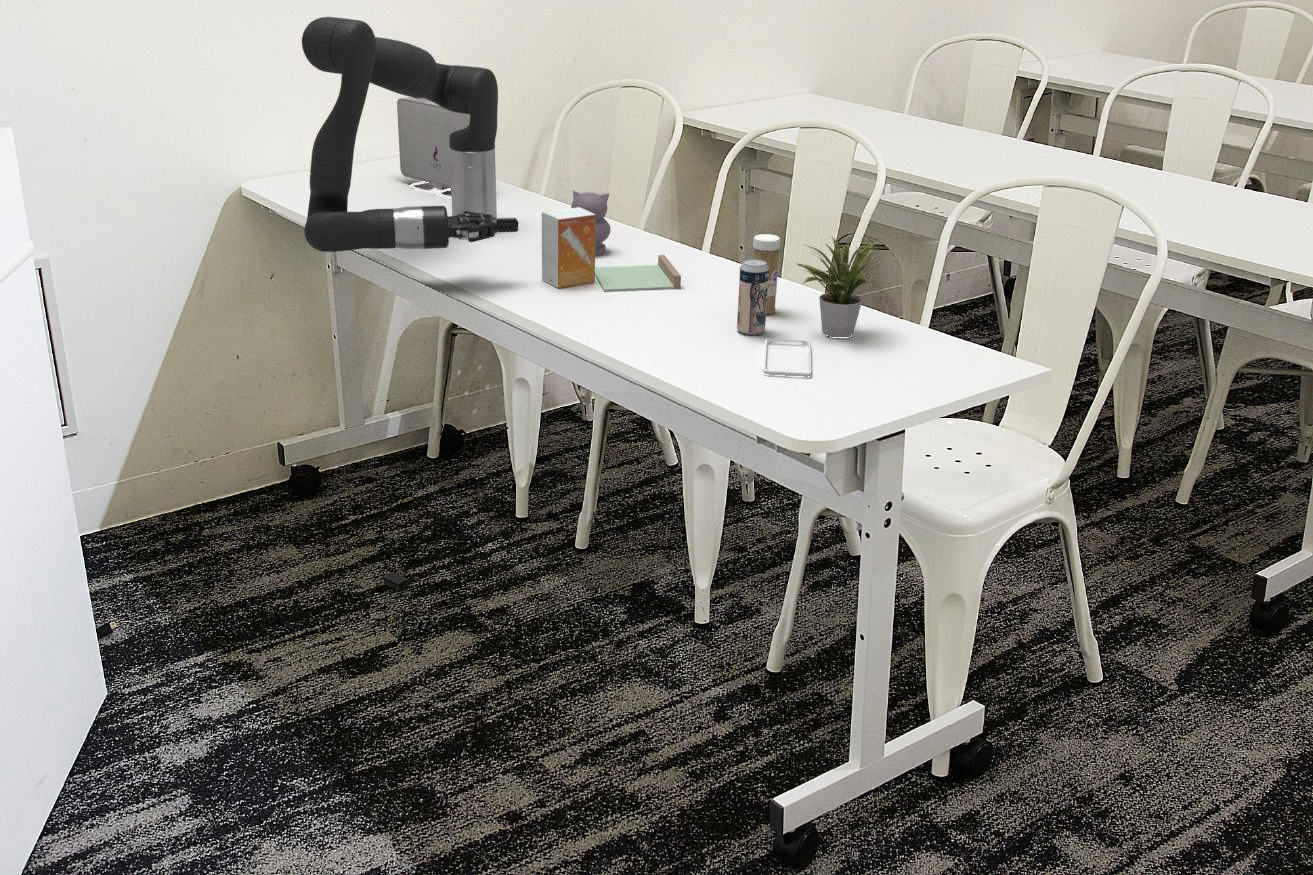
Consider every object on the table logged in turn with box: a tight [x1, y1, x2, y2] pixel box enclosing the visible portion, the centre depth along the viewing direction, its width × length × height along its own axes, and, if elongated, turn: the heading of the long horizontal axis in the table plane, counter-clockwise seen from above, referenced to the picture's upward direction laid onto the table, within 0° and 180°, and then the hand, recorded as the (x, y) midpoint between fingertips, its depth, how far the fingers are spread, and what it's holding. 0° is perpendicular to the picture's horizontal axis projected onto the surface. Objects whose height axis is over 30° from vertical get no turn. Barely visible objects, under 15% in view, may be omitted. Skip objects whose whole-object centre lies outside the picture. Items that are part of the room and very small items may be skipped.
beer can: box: [736, 258, 769, 336], centre depth 218 cm, size 5×5×12 cm
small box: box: [541, 207, 596, 289], centre depth 241 cm, size 8×6×13 cm
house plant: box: [794, 236, 880, 338], centre depth 219 cm, size 14×14×16 cm
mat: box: [595, 254, 682, 292], centre depth 246 cm, size 14×14×2 cm
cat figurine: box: [570, 190, 612, 257], centre depth 260 cm, size 8×8×12 cm
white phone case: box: [762, 338, 812, 377], centre depth 209 cm, size 7×1×15 cm
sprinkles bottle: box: [752, 233, 781, 316], centre depth 228 cm, size 5×5×13 cm
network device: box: [396, 96, 470, 190], centre depth 303 cm, size 26×9×20 cm, turn 50°
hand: (517, 224), depth 238 cm, fingers closed
